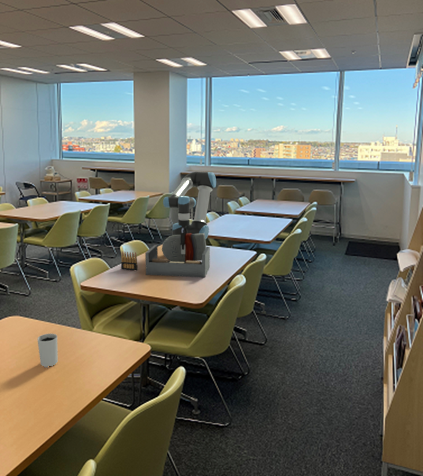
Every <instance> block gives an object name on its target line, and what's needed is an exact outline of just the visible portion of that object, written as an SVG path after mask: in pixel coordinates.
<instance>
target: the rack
mask: <svg viewBox="0 0 423 476" xmlns="http://www.w3.org/2000/svg"><path fill="white" fill-rule="evenodd" d="M210 249H211V246H206V249H205V251H204V252H203V254H202V260H201V264H193V263H186V261H170V260H168V263H167V262H152V260H153V259H159V256H158V255H159V253H158V251H159V250H158V244H154V245H153V246H151V247H150V248H149V249H148V250H147V251H146V252H145V256H144V257H145V276H161V277H163V276H165V277H186V278H187V277H191V278H193V277H194V278H206V276H207V274H208V272H209V270H210V264H211V261H210V260H211V255H210V254H211V253H210V251H211V250H210ZM169 262H184V263H169Z"/></svg>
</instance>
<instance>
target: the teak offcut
mask: <svg viewBox="0 0 423 476" xmlns="http://www.w3.org/2000/svg"><path fill="white" fill-rule="evenodd" d="M201 262H202V260H201V261H186V263H193V264H201Z"/></svg>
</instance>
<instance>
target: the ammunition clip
mask: <svg viewBox="0 0 423 476" xmlns="http://www.w3.org/2000/svg"><path fill="white" fill-rule="evenodd" d="M137 257H138V256H137V252H135V251H129V252H128V251H121V259H120V260H121V263H120V264H121V265H120V270H121V269H127V270H126V271H134V270H136V272H137V271H138V270H139V269H138V258H137Z"/></svg>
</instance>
